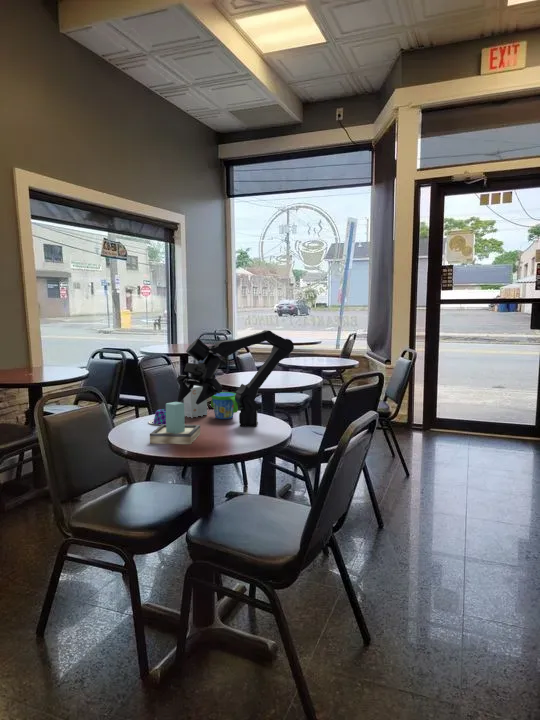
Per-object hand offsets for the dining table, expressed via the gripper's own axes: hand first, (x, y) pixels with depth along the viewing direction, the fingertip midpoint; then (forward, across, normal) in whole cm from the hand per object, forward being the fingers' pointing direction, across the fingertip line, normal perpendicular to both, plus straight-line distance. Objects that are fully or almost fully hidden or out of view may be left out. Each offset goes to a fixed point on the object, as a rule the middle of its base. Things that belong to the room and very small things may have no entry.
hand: (187, 402), depth 168 cm
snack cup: (-12, -9, +29) cm, 33 cm away
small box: (-9, -21, +26) cm, 35 cm away
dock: (+12, 0, +4) cm, 13 cm away
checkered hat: (+3, -23, +15) cm, 28 cm away
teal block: (+11, 0, +3) cm, 11 cm away
